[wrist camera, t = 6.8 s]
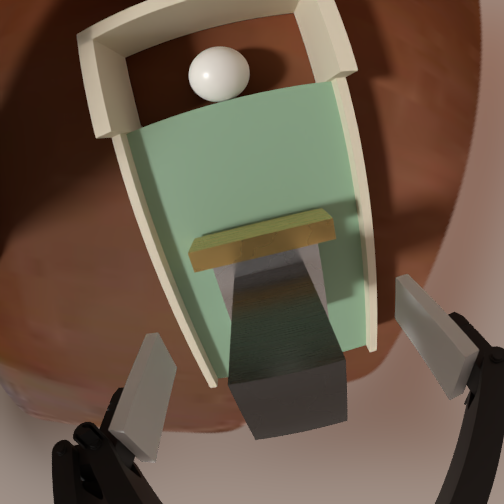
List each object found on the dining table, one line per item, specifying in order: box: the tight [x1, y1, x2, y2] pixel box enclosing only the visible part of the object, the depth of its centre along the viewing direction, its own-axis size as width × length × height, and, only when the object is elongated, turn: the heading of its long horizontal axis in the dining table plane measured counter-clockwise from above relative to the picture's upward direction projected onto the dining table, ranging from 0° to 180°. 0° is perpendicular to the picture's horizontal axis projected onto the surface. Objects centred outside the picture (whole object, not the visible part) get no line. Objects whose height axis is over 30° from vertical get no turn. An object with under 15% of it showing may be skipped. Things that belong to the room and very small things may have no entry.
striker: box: [188, 208, 347, 440], centre depth 15 cm, size 8×11×10 cm
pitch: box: [77, 0, 377, 388], centre depth 17 cm, size 14×27×5 cm, turn 14°
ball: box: [189, 46, 250, 102], centre depth 14 cm, size 4×4×4 cm
